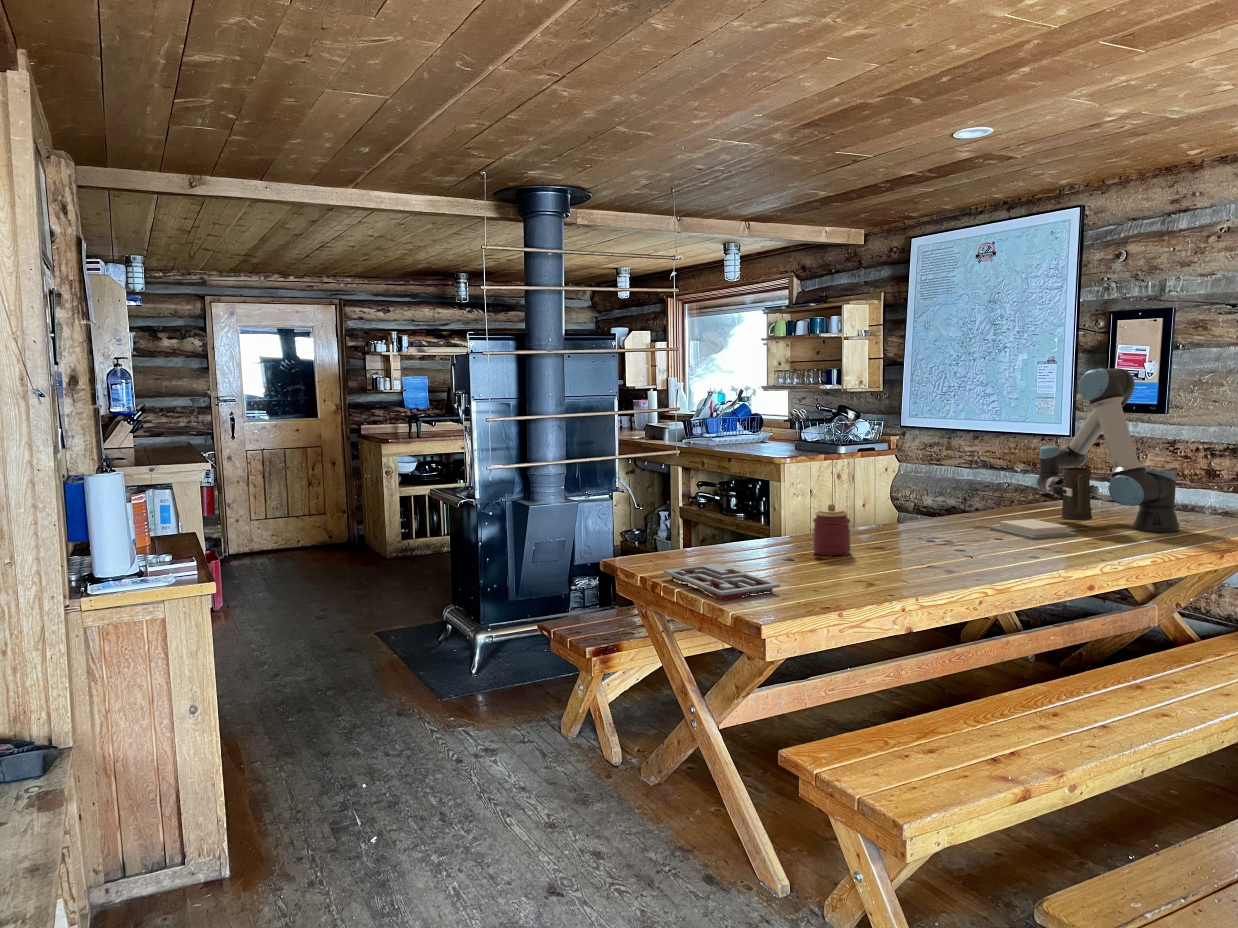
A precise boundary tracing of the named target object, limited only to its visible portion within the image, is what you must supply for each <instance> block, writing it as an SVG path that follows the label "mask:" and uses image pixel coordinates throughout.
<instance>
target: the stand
mask: <svg viewBox="0 0 1238 928" xmlns="http://www.w3.org/2000/svg"><path fill="white" fill-rule="evenodd" d="M989 530H990V531H993V530H994V531H995V532H999V533H1003V534H1007V535H1010V536H1011V535H1012V536H1016V537H1018V538H1023V539H1028V540H1044V539H1047V540H1048V539H1057V538H1069V537H1070V536H1071V537H1079V533H1077V532H1074V531H1073V532H1072V531H1069V530H1068V526H1067V525H1065V524H1064V525H1063V524H1058V523H1053V522H1049V521H1044V520H1038V519H1034V518H1030V519H1029V518H1028V519H1016V520H1014V519H1013V520H1003V521H1002V520H1001V521H999V526H991V527H989ZM1071 537H1070V538H1071Z"/></svg>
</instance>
